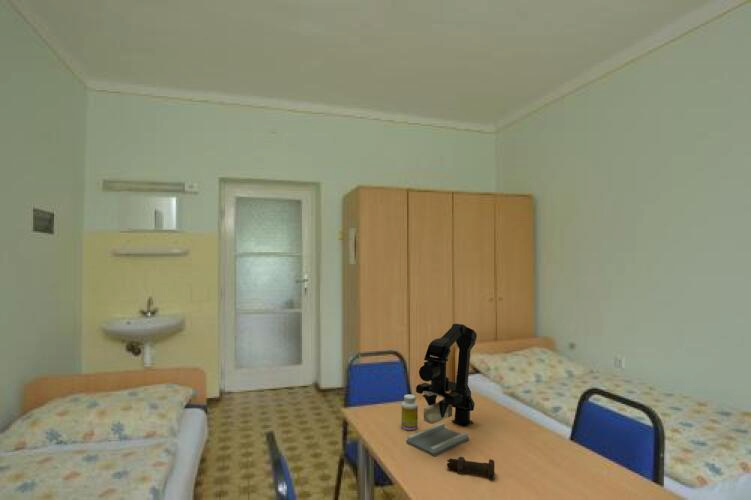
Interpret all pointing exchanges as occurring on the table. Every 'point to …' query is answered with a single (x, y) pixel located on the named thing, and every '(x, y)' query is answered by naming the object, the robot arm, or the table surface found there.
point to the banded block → (435, 413)
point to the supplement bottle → (409, 413)
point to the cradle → (436, 439)
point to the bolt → (472, 466)
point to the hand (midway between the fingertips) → (438, 415)
